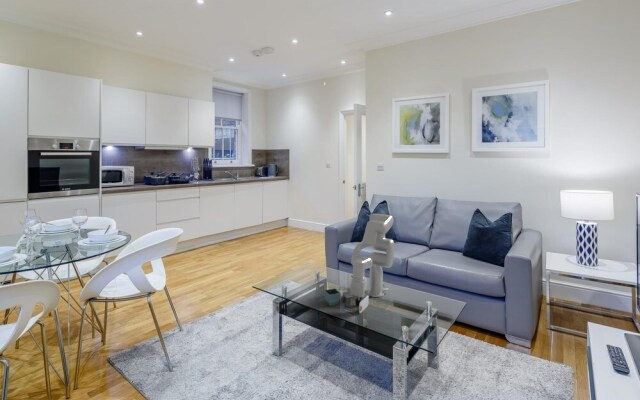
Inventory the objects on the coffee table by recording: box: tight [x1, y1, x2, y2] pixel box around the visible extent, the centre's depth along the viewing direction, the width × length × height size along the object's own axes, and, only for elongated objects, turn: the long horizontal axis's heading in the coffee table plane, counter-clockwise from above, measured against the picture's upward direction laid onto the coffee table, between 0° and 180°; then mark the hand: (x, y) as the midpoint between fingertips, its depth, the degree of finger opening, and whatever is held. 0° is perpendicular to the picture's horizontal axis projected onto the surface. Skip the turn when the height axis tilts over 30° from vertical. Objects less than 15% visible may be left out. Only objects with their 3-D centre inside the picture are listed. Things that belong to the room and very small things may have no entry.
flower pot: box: [323, 288, 341, 307], centre depth 239 cm, size 9×9×9 cm
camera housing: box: [341, 291, 370, 308], centre depth 240 cm, size 17×9×8 cm, turn 104°
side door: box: [358, 296, 370, 314], centre depth 231 cm, size 14×2×7 cm, turn 149°
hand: (357, 305), depth 229 cm, fingers closed
